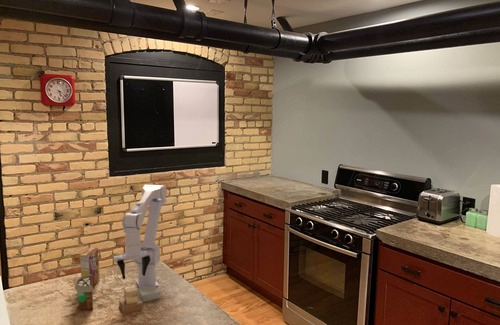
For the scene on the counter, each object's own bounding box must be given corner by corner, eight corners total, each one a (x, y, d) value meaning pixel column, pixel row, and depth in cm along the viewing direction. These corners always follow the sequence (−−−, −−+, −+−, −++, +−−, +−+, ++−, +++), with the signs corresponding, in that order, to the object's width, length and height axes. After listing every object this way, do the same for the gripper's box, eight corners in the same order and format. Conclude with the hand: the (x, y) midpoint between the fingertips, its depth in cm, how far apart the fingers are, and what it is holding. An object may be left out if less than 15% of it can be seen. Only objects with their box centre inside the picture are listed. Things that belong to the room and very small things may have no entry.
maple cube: (124, 300, 145) (124, 287, 144) (135, 297, 147) (134, 285, 146) (126, 304, 141) (126, 292, 141) (137, 302, 143) (137, 289, 143)
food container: (75, 299, 149) (75, 275, 148) (92, 297, 152) (91, 273, 151) (75, 315, 138) (74, 289, 137) (93, 312, 141) (92, 286, 139)
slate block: (137, 295, 155) (137, 288, 154) (154, 291, 158) (154, 284, 158) (142, 302, 149) (142, 295, 148) (159, 298, 152) (159, 291, 152)
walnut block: (119, 306, 146) (119, 299, 145) (137, 302, 149) (137, 295, 149) (123, 314, 140) (123, 307, 139) (142, 310, 143) (142, 302, 143)
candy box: (90, 280, 167) (89, 247, 165) (100, 280, 167) (99, 247, 165) (80, 289, 158) (79, 254, 156) (90, 289, 158) (89, 255, 156)
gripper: (115, 249, 140) (116, 284, 142) (154, 243, 147) (154, 277, 149) (112, 243, 146) (113, 277, 148) (149, 238, 153) (150, 270, 155)
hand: (133, 276), depth 149 cm, fingers open, 7 cm apart
